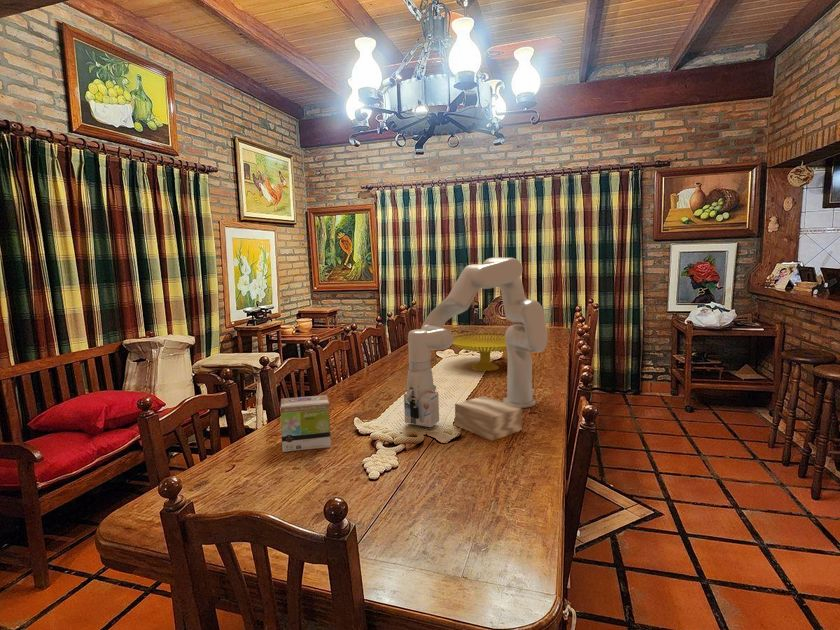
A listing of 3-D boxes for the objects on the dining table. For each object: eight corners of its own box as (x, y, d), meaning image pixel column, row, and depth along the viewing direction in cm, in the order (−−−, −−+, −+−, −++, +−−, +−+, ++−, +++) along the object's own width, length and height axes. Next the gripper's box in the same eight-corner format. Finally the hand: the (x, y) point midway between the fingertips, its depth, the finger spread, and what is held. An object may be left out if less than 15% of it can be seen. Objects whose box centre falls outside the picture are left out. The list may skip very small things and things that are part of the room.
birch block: (483, 416, 175) (483, 396, 174) (521, 431, 161) (521, 408, 160) (455, 425, 167) (455, 403, 166) (492, 441, 152) (492, 417, 151)
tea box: (282, 453, 146) (279, 407, 144) (282, 441, 155) (279, 397, 153) (331, 447, 150) (329, 402, 148) (329, 436, 159) (327, 393, 157)
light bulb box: (404, 423, 166) (402, 393, 165) (413, 416, 172) (412, 388, 171) (431, 427, 161) (430, 397, 160) (440, 420, 167) (439, 391, 166)
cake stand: (535, 363, 254) (535, 335, 252) (507, 381, 220) (507, 350, 218) (467, 356, 275) (467, 330, 273) (432, 371, 241) (431, 342, 239)
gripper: (426, 358, 173) (428, 405, 175) (395, 369, 159) (397, 419, 162) (443, 361, 168) (444, 409, 171) (412, 372, 155) (414, 424, 157)
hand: (421, 414), depth 166 cm, fingers closed on light bulb box, 7 cm apart
